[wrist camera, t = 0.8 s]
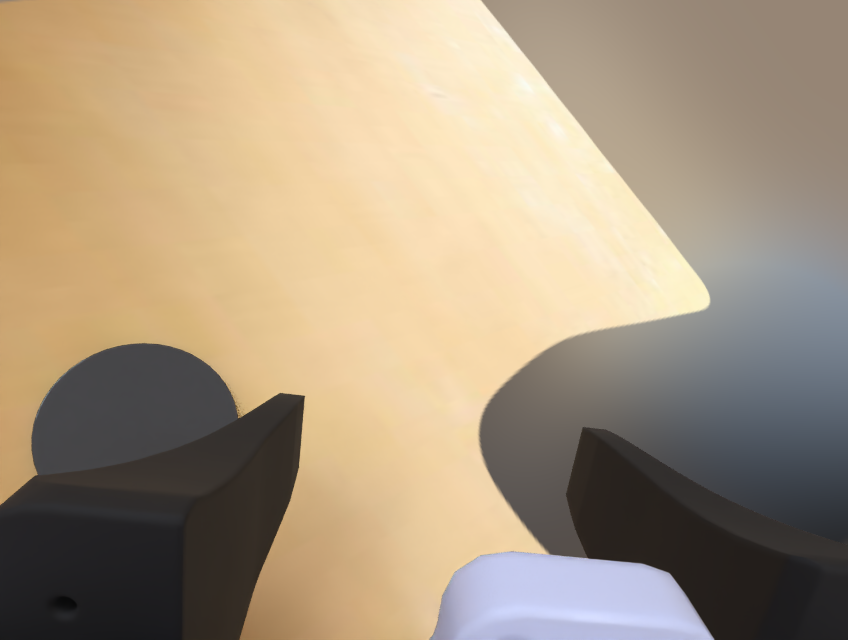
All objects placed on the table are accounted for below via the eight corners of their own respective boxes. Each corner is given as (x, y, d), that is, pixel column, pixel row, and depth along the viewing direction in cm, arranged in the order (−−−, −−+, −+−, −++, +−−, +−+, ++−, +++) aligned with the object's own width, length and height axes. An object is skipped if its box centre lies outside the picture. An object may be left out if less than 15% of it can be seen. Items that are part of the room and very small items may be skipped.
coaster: (229, 525, 24) (230, 525, 24) (9, 530, 21) (8, 530, 20) (243, 356, 27) (245, 354, 27) (55, 334, 24) (55, 331, 23)
